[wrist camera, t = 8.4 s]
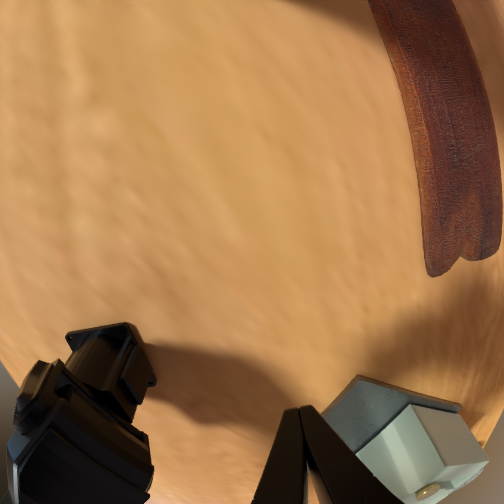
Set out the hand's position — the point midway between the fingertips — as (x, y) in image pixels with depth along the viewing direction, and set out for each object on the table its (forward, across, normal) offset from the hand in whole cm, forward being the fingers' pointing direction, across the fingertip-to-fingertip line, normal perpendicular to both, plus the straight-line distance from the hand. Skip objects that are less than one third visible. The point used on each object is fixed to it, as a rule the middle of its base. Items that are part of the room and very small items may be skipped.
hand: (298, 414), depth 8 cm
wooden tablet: (+14, -16, -9) cm, 23 cm away
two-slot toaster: (+13, -12, +28) cm, 33 cm away
